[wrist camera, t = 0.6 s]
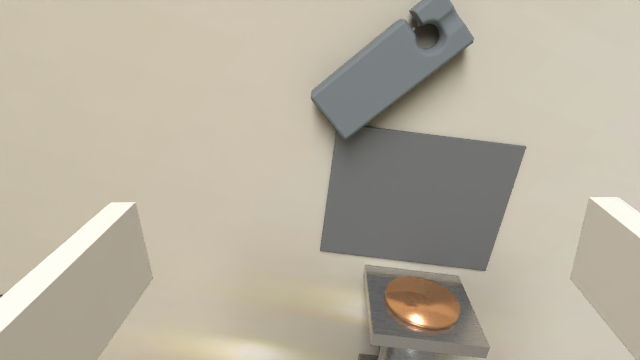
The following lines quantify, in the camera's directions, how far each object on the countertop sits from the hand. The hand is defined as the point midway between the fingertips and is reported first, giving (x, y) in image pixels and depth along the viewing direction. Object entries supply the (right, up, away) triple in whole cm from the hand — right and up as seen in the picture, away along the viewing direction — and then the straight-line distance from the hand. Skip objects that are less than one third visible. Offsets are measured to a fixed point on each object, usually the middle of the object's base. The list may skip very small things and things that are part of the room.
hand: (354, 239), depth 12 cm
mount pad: (+7, 0, +21) cm, 22 cm away
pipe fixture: (+6, -12, +26) cm, 29 cm away
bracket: (-1, +10, +18) cm, 21 cm away
